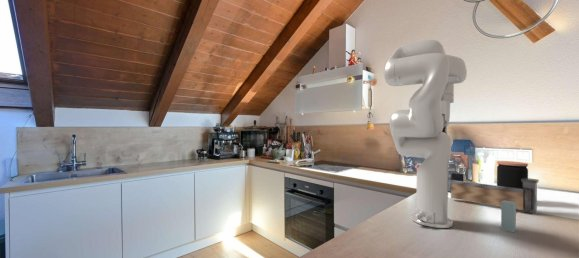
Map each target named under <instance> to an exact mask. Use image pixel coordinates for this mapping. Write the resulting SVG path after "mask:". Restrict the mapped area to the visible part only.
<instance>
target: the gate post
mask: <svg viewBox="0 0 579 258" xmlns="http://www.w3.org/2000/svg"><path fill="white" fill-rule="evenodd" d="M539 180H540V179H537V178H529V177H528V178H522V179H521V181H522V182H523V189H526V190H531V212H528V214H530V213H531V214H536V213H538V210H537V209H538V183H539ZM522 212H523V213H526V212H525V211H524V192H523V210H522Z"/></svg>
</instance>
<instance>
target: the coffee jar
mask: <svg viewBox="0 0 579 258" xmlns="http://www.w3.org/2000/svg"><path fill="white" fill-rule="evenodd" d="M496 164H497V167H496V186H503V187H511V188H519V189H523V182H522V181H521V179H522V178H529V168H528V167H529V163H527V162H521V161H507V160H498V161H497V162H496Z"/></svg>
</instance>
